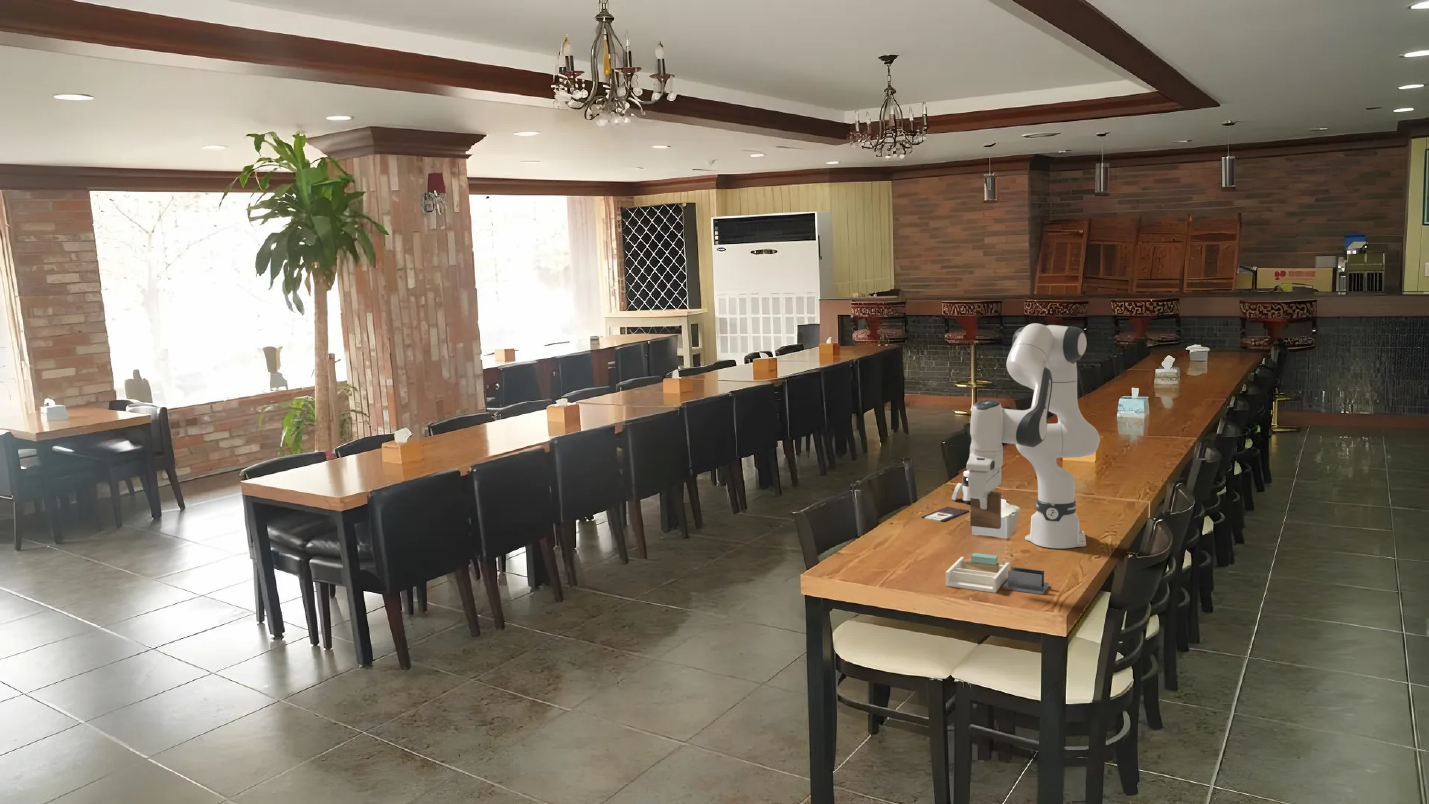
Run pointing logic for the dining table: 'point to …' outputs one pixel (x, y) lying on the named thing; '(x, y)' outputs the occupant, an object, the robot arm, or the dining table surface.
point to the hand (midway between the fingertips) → (985, 507)
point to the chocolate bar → (945, 514)
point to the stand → (1026, 580)
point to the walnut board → (986, 512)
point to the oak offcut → (982, 567)
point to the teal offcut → (984, 559)
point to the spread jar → (963, 489)
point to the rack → (975, 577)
